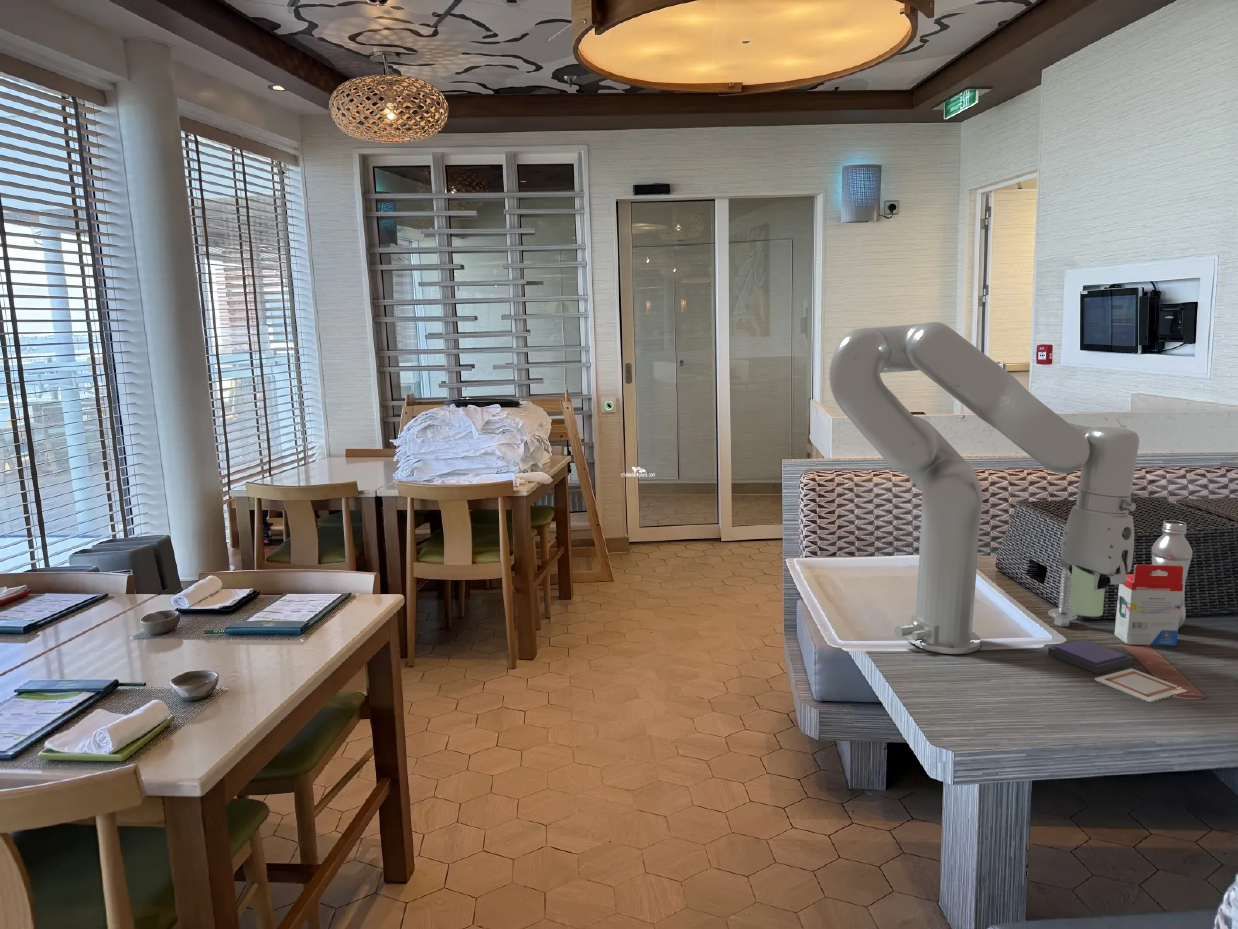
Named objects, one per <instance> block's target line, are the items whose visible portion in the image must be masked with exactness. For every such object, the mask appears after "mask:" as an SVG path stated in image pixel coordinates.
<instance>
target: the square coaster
mask: <svg viewBox="0 0 1238 929" xmlns="http://www.w3.org/2000/svg"><path fill="white" fill-rule="evenodd" d="M1094 681H1096V682H1098V683H1100V684H1103V685H1106V686H1108V687H1111V688H1113V689H1116V690H1118V691H1120V692H1123V693H1125V694H1128V695H1130V696H1132V697H1135V698H1138V699H1140V700H1143V701H1144V700H1145V702H1148V703H1149V702H1151V703H1154V702H1157V701H1160V700H1159V699H1161V700H1163V699H1162V698H1164V699H1167V698H1166V697H1168V698H1170V697H1169V696H1171V695H1174V694H1176V693H1173V692H1171V691H1178V690H1176V688H1178V687H1177V686H1178V685H1176V684H1174V683H1171V682H1168V681H1166V680H1164V679H1161V678H1158V677H1155V676H1152V675H1150V674H1147V673H1145V672H1142V671H1139V670H1137V669H1135V668H1128V669H1124V670H1121V671H1117V672H1112V673H1110V674H1109V673H1108V674H1105V675H1102V676H1098V677H1094ZM1173 684H1174V686H1173ZM1179 688H1183V687H1181V686H1179ZM1179 691H1180V690H1179ZM1174 696H1175V695H1174ZM1171 697H1172V696H1171ZM1156 700H1157V701H1156Z"/></svg>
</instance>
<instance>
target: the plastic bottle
mask: <svg viewBox="0 0 1238 929" xmlns="http://www.w3.org/2000/svg"><path fill="white" fill-rule="evenodd" d="M1161 531H1162V533H1163V534H1161V536H1160V537H1158V538H1157V539H1156V541H1155V542H1154V543H1153V545H1152V547H1151V562H1152V563H1151V565H1170V566H1183V577H1182V583H1183V590H1182V599H1181V608H1180V617H1179V625H1178V629H1179V628H1181V627H1182V626H1183V625H1184V623H1185V620H1186V618H1187V616H1186V614H1187V613H1186V604H1185V596H1186V595H1185V592H1186V591H1185V590H1186V581H1187V577H1188V571H1189V569H1190V565H1191V561H1192V558H1193V549H1192V547H1191V545H1190V543H1189V541H1188V540H1187V538H1186V537H1185V535H1186V534H1187V522H1183V521H1179V520H1172V519H1171V520H1164V521H1163V523H1162V528H1161ZM1166 574H1167V572H1165V571H1160V570H1157V571H1151V575H1166Z"/></svg>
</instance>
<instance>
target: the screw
mask: <svg viewBox="0 0 1238 929" xmlns="http://www.w3.org/2000/svg"><path fill="white" fill-rule="evenodd" d="M1060 576H1061V577H1060V578H1059V579H1060V581H1059V582H1060V583H1059V585H1060V586H1059V588H1060V589H1059V590H1058V591H1059V593H1058V594H1059V596H1058V602H1057V603H1058V605H1057V606H1058V608H1057V607H1056V608H1051V609H1050V610H1048V611H1047V613H1048V615H1049V616H1051V617H1052V618H1053V619H1054V622H1053V624H1054V625H1056V626H1059V627H1069V626H1070V622H1071V621H1072V620H1076V619H1077V618H1078V614H1074V613H1072V612H1070V611H1069V601H1070V589H1071V577H1072V575H1071V573H1070V571H1069V570H1067V569H1066V568H1064V567H1063V566H1062V571H1061V572H1060Z"/></svg>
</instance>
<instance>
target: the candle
mask: <svg viewBox="0 0 1238 929" xmlns="http://www.w3.org/2000/svg"><path fill="white" fill-rule="evenodd" d="M1103 577H1105V576H1102V577H1101V578H1103ZM1070 580H1071V582H1070V583H1071V585H1070V587H1071V588H1070V591H1069V592H1070V594H1069V596H1070V597H1069V599H1070V600H1068V601H1069V603H1068V604H1069V606H1068V608H1069V609H1068V610H1069V611H1070V612H1072V613H1074V614H1077V616H1078V615H1079V616H1082V617H1091V618H1094V617H1095V618H1096V617H1097V618H1098V617H1101V616H1102V615H1103V613H1104V604H1105V602H1104V601H1105V592H1106V589H1098V590H1095V589H1096V588H1094V587H1096V586H1095V585H1094V582H1095V576H1094V575H1093V571H1090V570H1089V571H1088V570H1087V569H1085V570H1081V569H1079V568H1078V567H1077V566H1076V565H1073V566H1072V576H1071V579H1070Z"/></svg>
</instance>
